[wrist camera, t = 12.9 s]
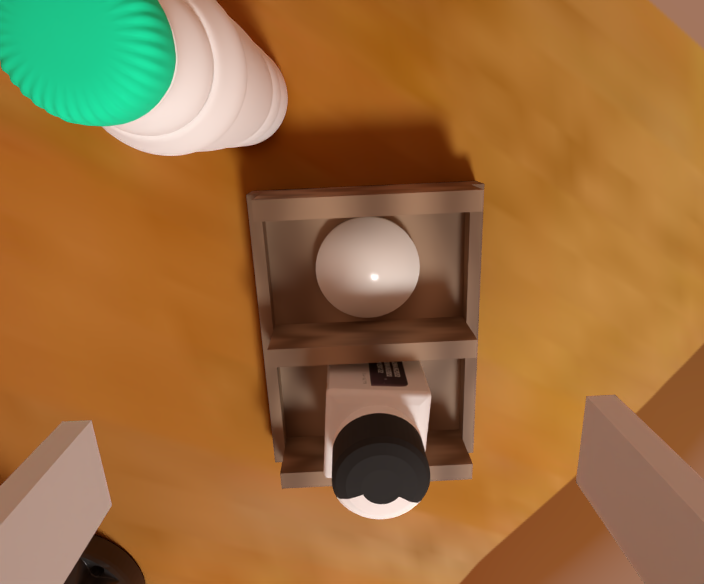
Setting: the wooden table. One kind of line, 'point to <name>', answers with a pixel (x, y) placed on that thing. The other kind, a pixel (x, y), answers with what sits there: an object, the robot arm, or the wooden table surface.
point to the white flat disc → (367, 266)
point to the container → (377, 436)
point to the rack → (368, 333)
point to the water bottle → (144, 71)
